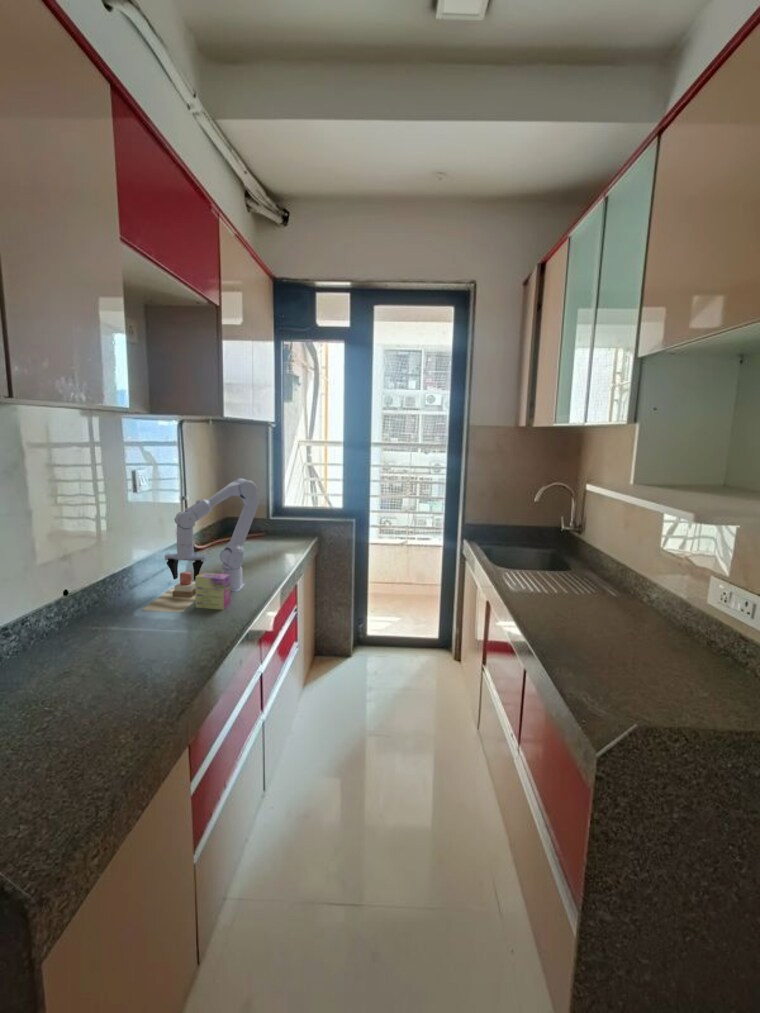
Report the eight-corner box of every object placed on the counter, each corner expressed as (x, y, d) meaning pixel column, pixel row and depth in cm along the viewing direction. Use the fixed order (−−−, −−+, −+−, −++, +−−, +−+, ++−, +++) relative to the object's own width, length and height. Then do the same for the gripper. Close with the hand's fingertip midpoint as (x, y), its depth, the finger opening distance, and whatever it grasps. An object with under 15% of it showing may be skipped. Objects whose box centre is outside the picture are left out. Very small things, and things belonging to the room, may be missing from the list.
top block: (181, 586, 180) (181, 580, 180) (196, 586, 180) (196, 581, 180) (174, 591, 174) (174, 585, 174) (190, 591, 174) (190, 586, 174)
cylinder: (182, 581, 179) (182, 571, 178) (193, 582, 179) (193, 572, 178) (178, 585, 175) (178, 574, 175) (188, 585, 175) (188, 575, 175)
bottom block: (180, 590, 181) (180, 585, 181) (198, 591, 181) (198, 586, 181) (172, 596, 174) (172, 591, 174) (191, 597, 174) (191, 592, 174)
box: (230, 605, 170) (230, 574, 168) (223, 611, 164) (223, 578, 162) (203, 603, 170) (202, 571, 169) (195, 609, 165) (194, 576, 163)
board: (171, 589, 184) (171, 588, 183) (207, 591, 184) (207, 589, 184) (140, 612, 160) (140, 610, 160) (182, 613, 160) (182, 612, 160)
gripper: (160, 545, 171) (161, 581, 173) (200, 547, 171) (201, 583, 173) (169, 541, 178) (169, 575, 180) (207, 542, 178) (208, 577, 180)
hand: (185, 579), depth 177 cm, fingers open, 7 cm apart
